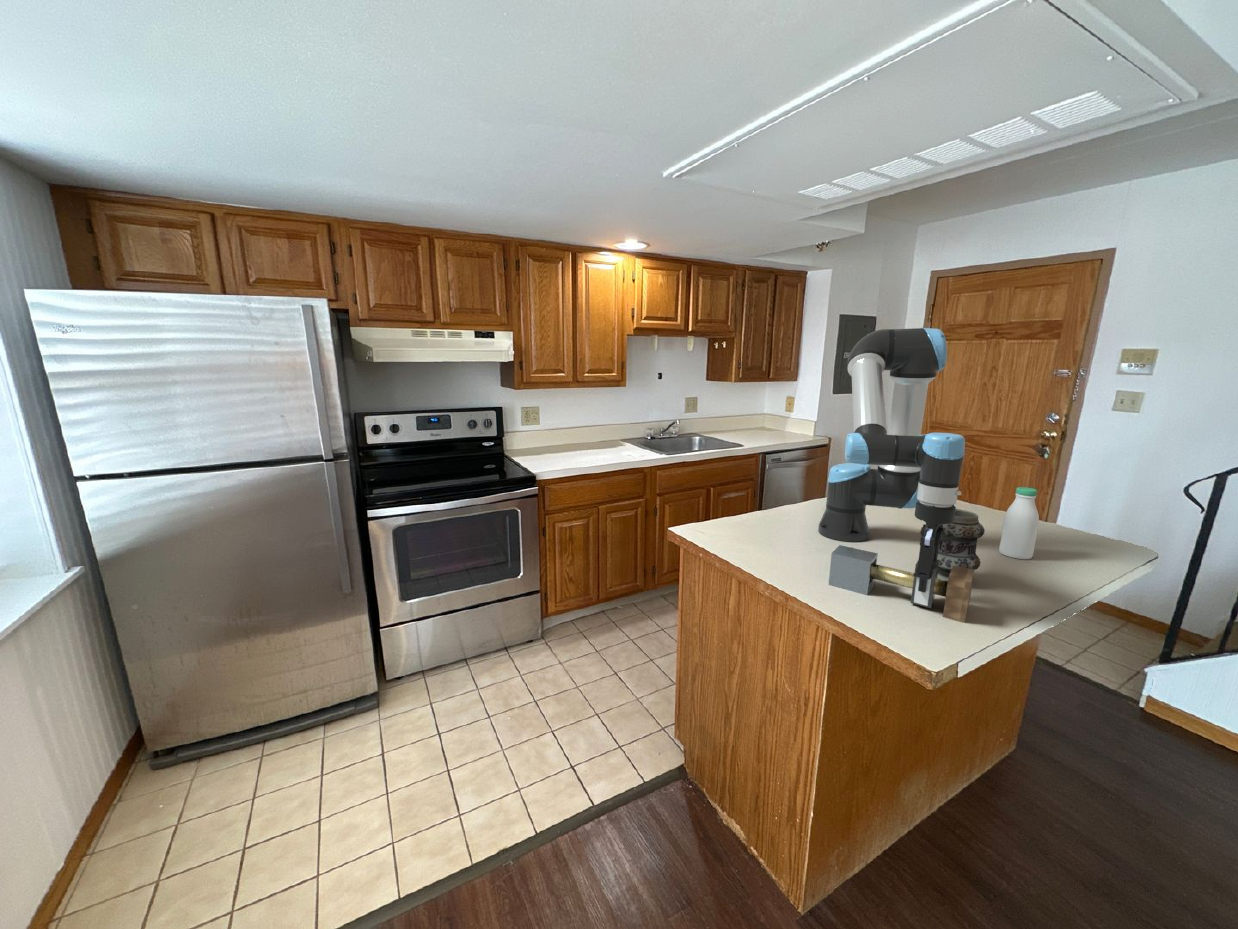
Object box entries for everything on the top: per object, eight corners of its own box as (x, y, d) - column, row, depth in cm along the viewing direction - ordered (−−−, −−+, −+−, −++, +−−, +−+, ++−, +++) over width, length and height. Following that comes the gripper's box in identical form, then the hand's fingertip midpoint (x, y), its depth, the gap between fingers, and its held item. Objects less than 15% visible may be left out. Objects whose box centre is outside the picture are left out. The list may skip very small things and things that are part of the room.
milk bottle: (1038, 561, 138) (1051, 492, 133) (1007, 559, 139) (1019, 491, 135) (1022, 551, 145) (1034, 485, 141) (993, 549, 146) (1003, 484, 142)
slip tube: (859, 589, 120) (863, 553, 118) (864, 582, 124) (868, 547, 122) (957, 615, 107) (963, 575, 105) (959, 606, 111) (965, 568, 109)
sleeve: (828, 584, 123) (831, 553, 122) (836, 575, 129) (839, 545, 127) (867, 595, 118) (870, 562, 116) (874, 585, 123) (877, 553, 121)
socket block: (942, 616, 108) (948, 576, 106) (947, 603, 114) (953, 565, 112) (964, 622, 105) (971, 581, 103) (968, 608, 111) (974, 569, 109)
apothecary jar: (964, 571, 131) (974, 506, 128) (986, 591, 120) (997, 521, 116) (914, 567, 134) (922, 504, 130) (931, 586, 122) (941, 517, 119)
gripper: (951, 515, 99) (936, 619, 104) (960, 497, 113) (947, 589, 118) (909, 508, 104) (896, 608, 109) (923, 491, 118) (911, 581, 123)
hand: (922, 598), depth 113 cm, fingers closed on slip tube, 5 cm apart
